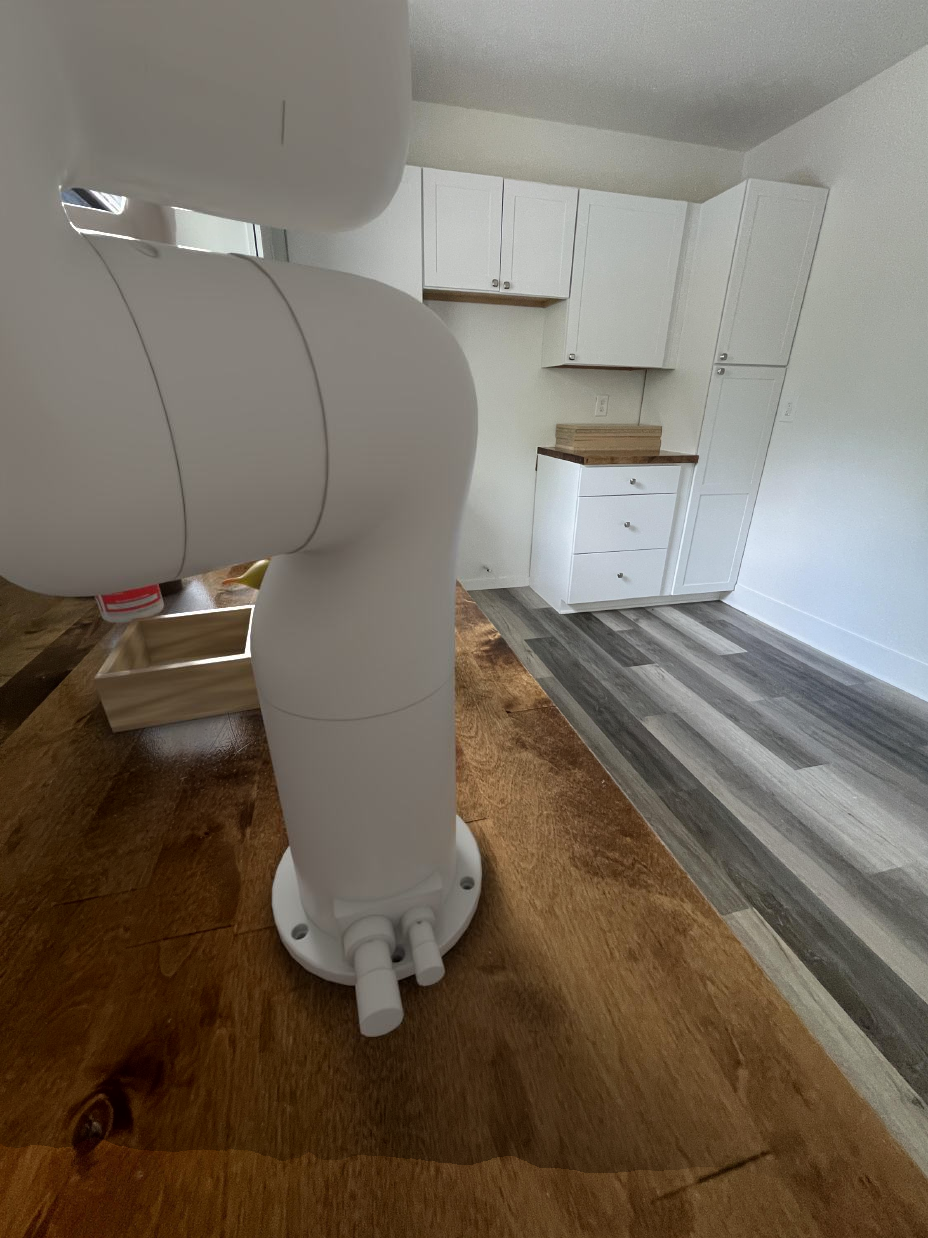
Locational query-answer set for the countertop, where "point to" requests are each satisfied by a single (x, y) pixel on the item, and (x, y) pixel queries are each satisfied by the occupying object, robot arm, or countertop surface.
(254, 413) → the robot arm
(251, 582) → the neti pot
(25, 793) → the countertop surface
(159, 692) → the holder
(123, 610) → the pill bottle
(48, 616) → the countertop surface
